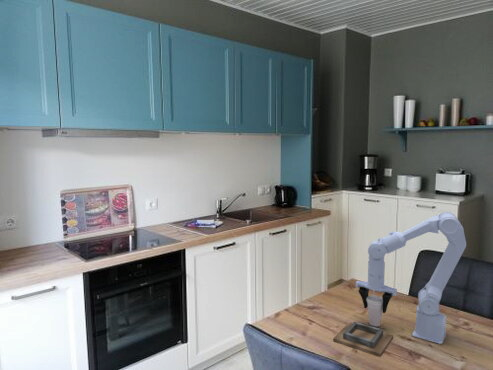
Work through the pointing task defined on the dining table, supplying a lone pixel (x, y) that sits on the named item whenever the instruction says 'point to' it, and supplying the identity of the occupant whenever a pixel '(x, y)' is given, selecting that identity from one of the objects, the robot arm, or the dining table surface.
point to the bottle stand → (364, 338)
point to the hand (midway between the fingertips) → (375, 309)
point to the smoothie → (374, 309)
